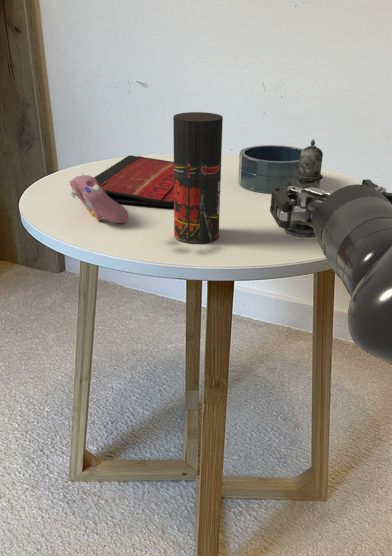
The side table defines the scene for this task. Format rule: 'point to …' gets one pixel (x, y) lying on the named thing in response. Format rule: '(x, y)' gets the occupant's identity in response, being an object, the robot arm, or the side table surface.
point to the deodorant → (197, 176)
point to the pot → (267, 167)
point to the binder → (139, 181)
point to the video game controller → (97, 199)
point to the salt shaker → (307, 184)
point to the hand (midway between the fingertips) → (327, 187)
